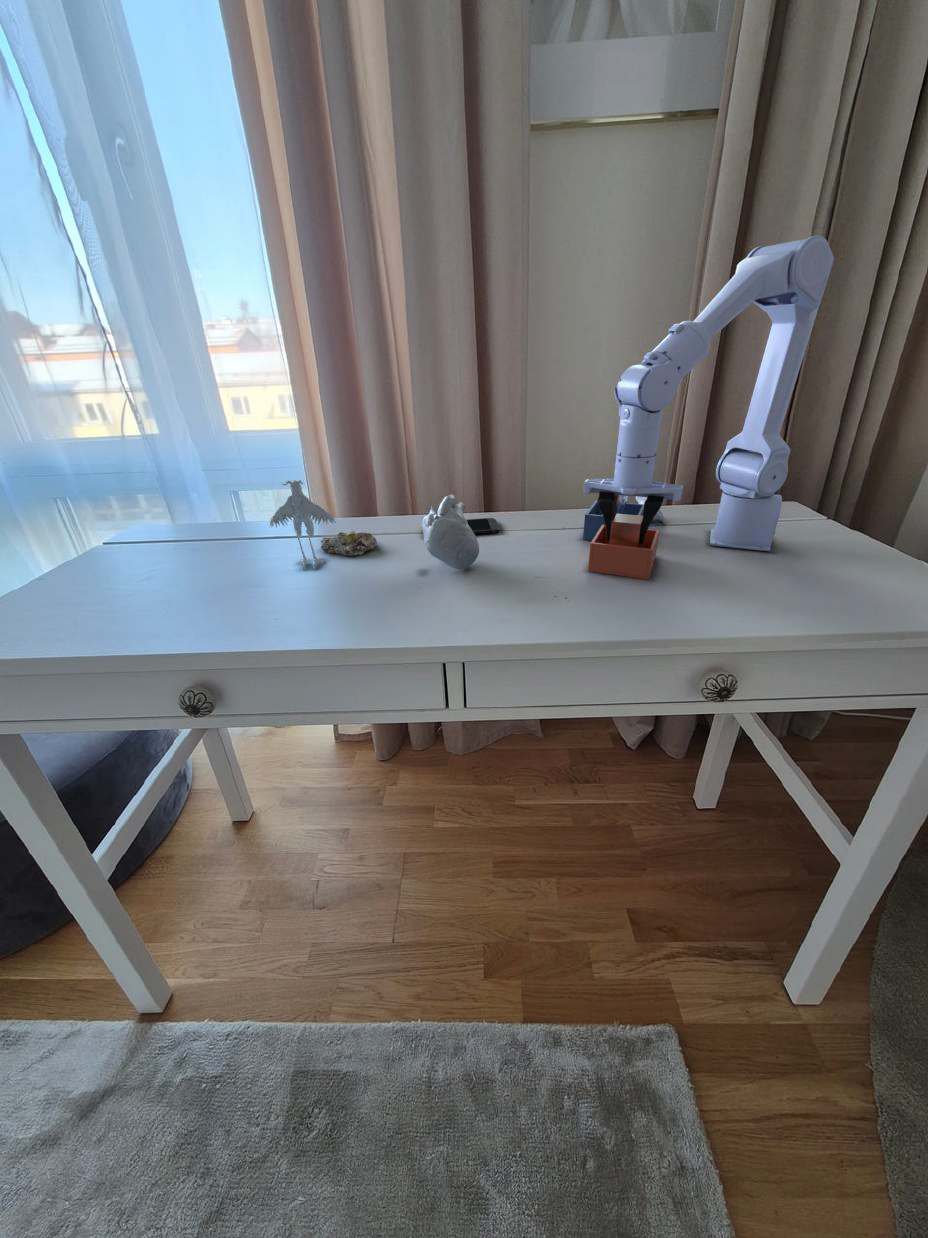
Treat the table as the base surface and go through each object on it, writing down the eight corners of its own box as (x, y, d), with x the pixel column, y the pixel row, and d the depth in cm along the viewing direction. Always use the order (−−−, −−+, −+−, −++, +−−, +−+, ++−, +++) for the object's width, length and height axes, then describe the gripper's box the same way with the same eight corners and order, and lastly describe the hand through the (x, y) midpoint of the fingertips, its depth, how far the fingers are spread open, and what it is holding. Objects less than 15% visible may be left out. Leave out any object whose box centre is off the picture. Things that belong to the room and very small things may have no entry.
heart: (408, 571, 84) (414, 502, 78) (429, 550, 92) (436, 486, 86) (465, 586, 82) (476, 518, 76) (482, 564, 90) (492, 499, 84)
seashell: (636, 537, 105) (620, 502, 106) (660, 526, 105) (644, 492, 106) (643, 528, 98) (626, 491, 98) (670, 517, 97) (652, 480, 98)
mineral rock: (380, 527, 98) (371, 530, 91) (382, 550, 99) (373, 554, 92) (326, 531, 99) (312, 534, 91) (329, 553, 100) (316, 558, 92)
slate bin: (642, 528, 99) (645, 504, 96) (635, 545, 91) (638, 519, 89) (593, 523, 102) (595, 500, 100) (582, 539, 95) (584, 514, 93)
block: (640, 544, 84) (644, 515, 81) (636, 554, 80) (640, 524, 78) (613, 541, 86) (616, 513, 83) (608, 551, 82) (611, 521, 80)
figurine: (344, 558, 92) (330, 475, 84) (341, 567, 88) (326, 481, 81) (281, 562, 91) (261, 479, 84) (275, 571, 87) (255, 485, 80)
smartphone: (500, 532, 100) (500, 528, 99) (425, 538, 99) (424, 533, 98) (495, 521, 106) (495, 517, 106) (424, 526, 105) (423, 521, 105)
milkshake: (629, 536, 94) (635, 483, 89) (599, 535, 95) (604, 482, 90) (627, 528, 98) (633, 476, 93) (598, 527, 99) (603, 476, 94)
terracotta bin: (655, 557, 86) (659, 530, 84) (648, 579, 79) (653, 550, 77) (599, 550, 90) (602, 524, 88) (587, 571, 83) (590, 543, 80)
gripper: (581, 457, 75) (575, 542, 82) (686, 462, 70) (670, 553, 76) (591, 447, 81) (585, 529, 87) (689, 452, 75) (674, 538, 82)
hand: (625, 539), depth 82 cm, fingers closed on block, 4 cm apart
